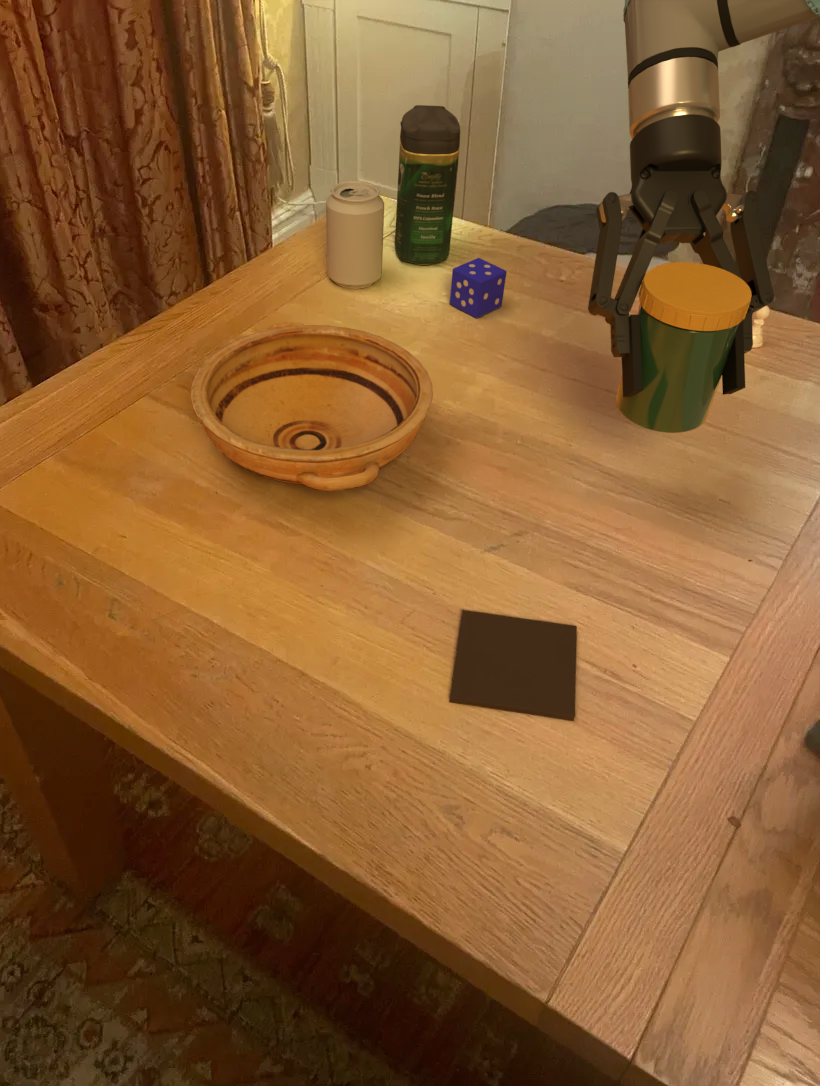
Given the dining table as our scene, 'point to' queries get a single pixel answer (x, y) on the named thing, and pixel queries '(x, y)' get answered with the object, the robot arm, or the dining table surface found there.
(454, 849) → the dining table surface
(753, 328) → the chess pawn
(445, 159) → the coffee jar
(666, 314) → the jar lid
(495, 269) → the die
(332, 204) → the can
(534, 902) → the dining table surface
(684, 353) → the jar
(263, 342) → the ceramic bowl
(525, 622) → the coaster
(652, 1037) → the dining table surface
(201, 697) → the dining table surface
